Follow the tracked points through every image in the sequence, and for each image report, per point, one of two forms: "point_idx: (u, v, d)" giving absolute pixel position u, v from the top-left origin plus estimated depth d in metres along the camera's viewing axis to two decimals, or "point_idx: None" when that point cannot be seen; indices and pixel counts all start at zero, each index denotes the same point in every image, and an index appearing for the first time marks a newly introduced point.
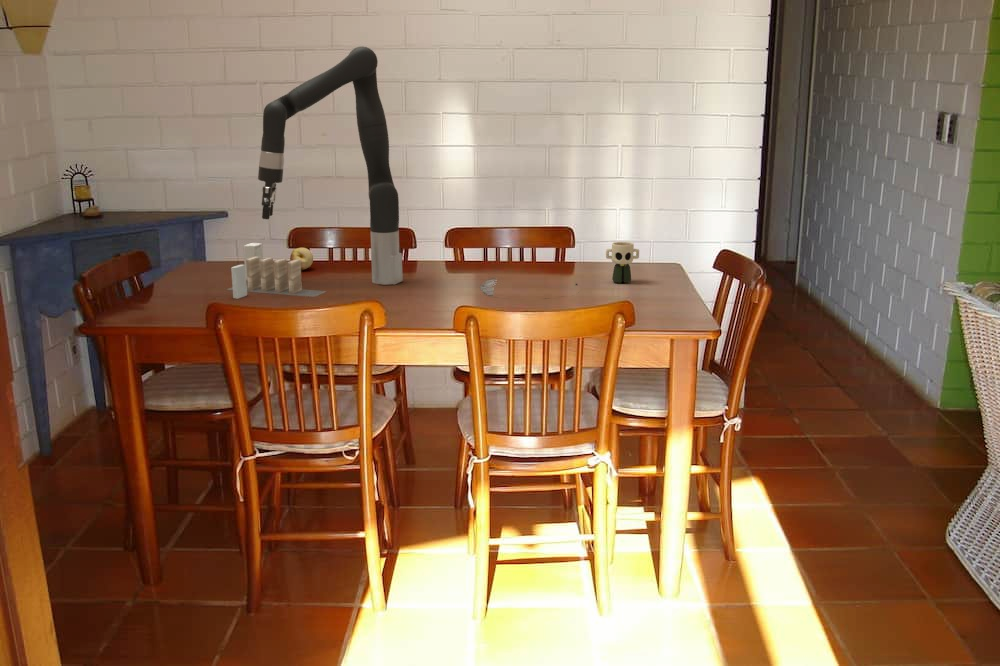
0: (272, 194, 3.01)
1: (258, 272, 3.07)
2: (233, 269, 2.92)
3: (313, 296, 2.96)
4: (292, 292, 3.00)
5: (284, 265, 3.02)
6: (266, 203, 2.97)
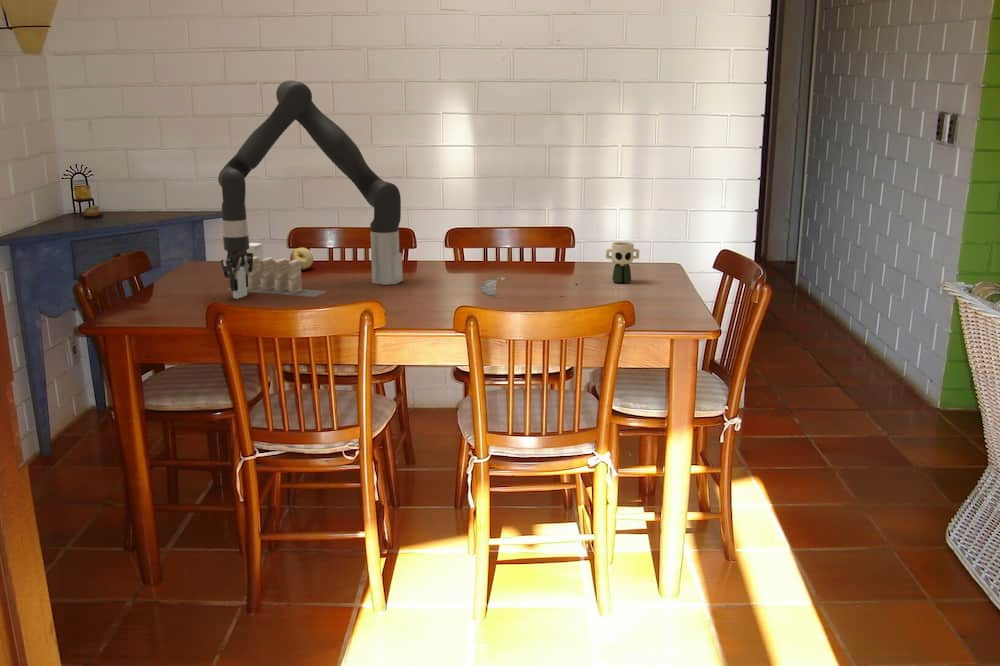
0: (237, 264, 2.91)
1: (258, 272, 3.07)
2: None
3: (313, 296, 2.96)
4: (292, 292, 3.00)
5: (284, 265, 3.02)
6: (228, 275, 2.89)
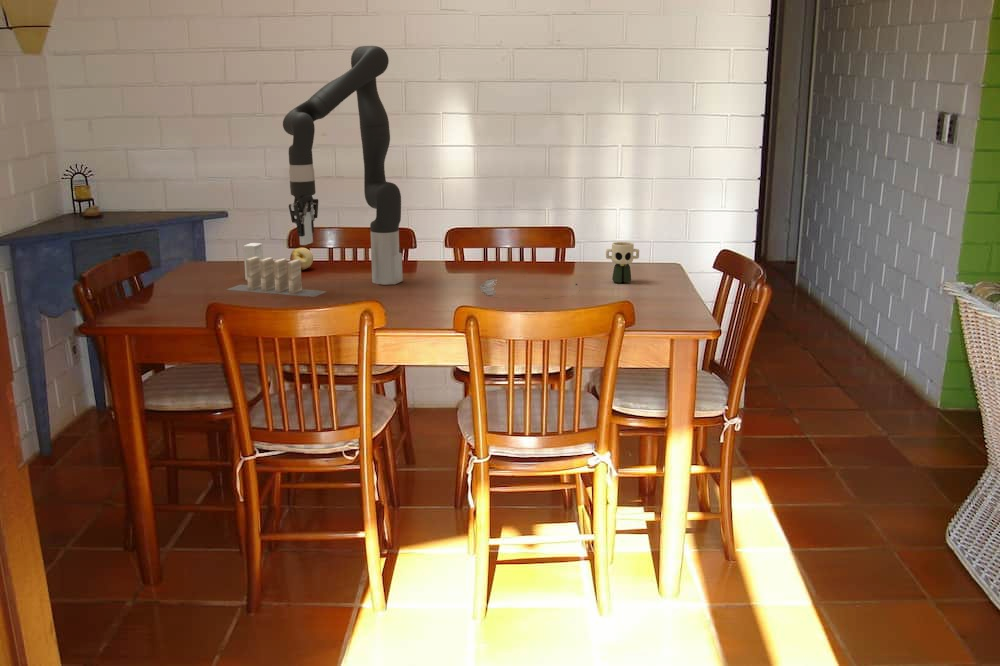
0: (303, 209, 2.91)
1: (258, 272, 3.07)
2: None
3: (313, 296, 2.96)
4: (292, 292, 3.00)
5: (284, 265, 3.02)
6: (295, 220, 2.89)
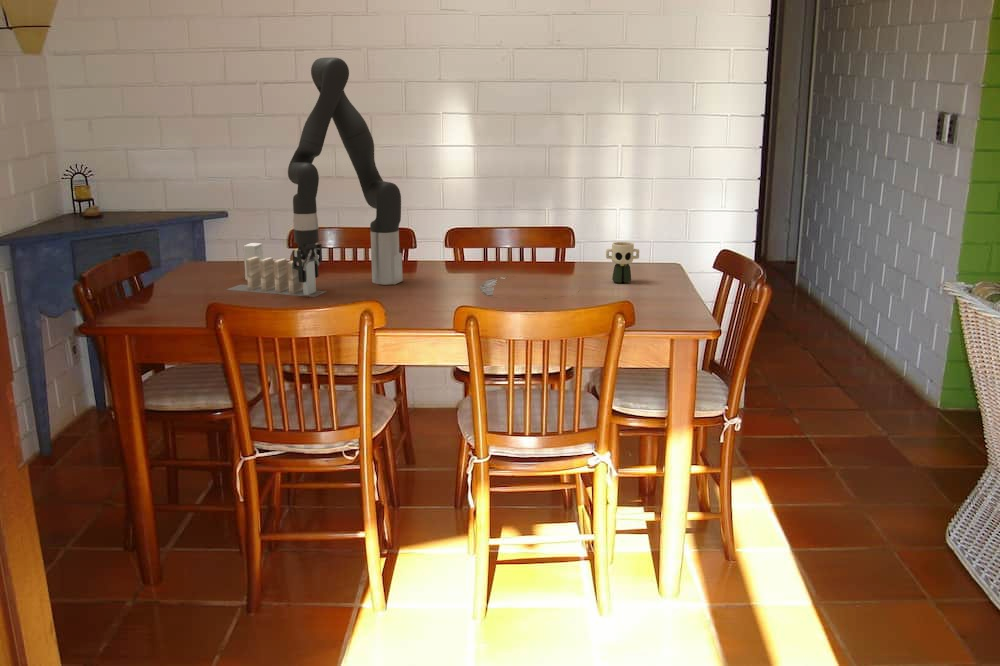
0: (306, 256, 2.94)
1: (258, 272, 3.07)
2: None
3: (313, 296, 2.96)
4: (292, 292, 3.00)
5: (284, 265, 3.02)
6: (297, 267, 2.92)
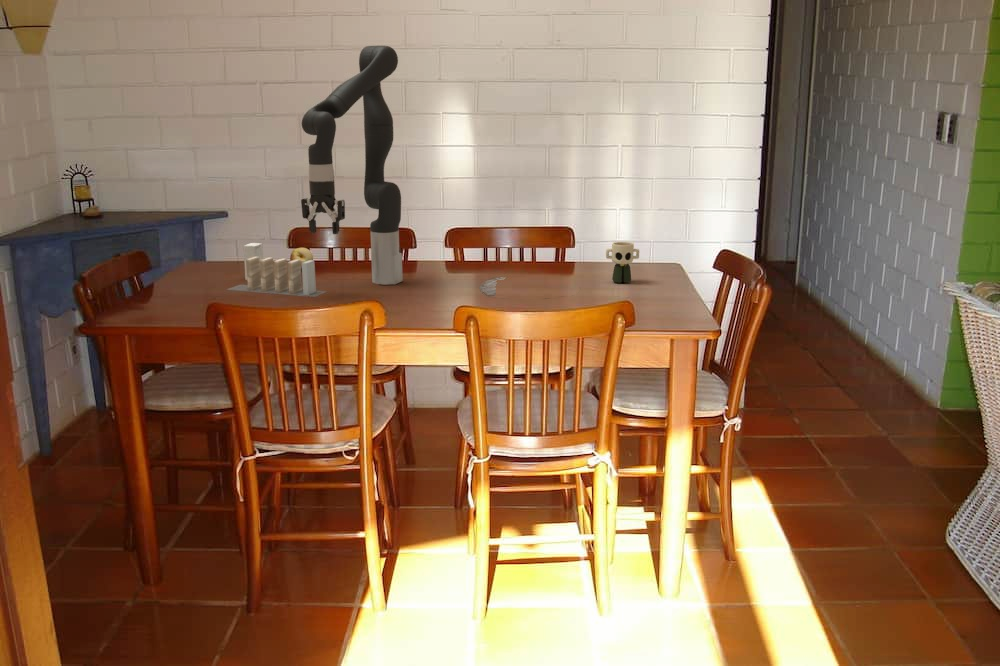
0: None
1: (258, 272, 3.07)
2: (304, 265, 2.96)
3: (313, 296, 2.96)
4: (292, 292, 3.00)
5: (284, 265, 3.02)
6: None
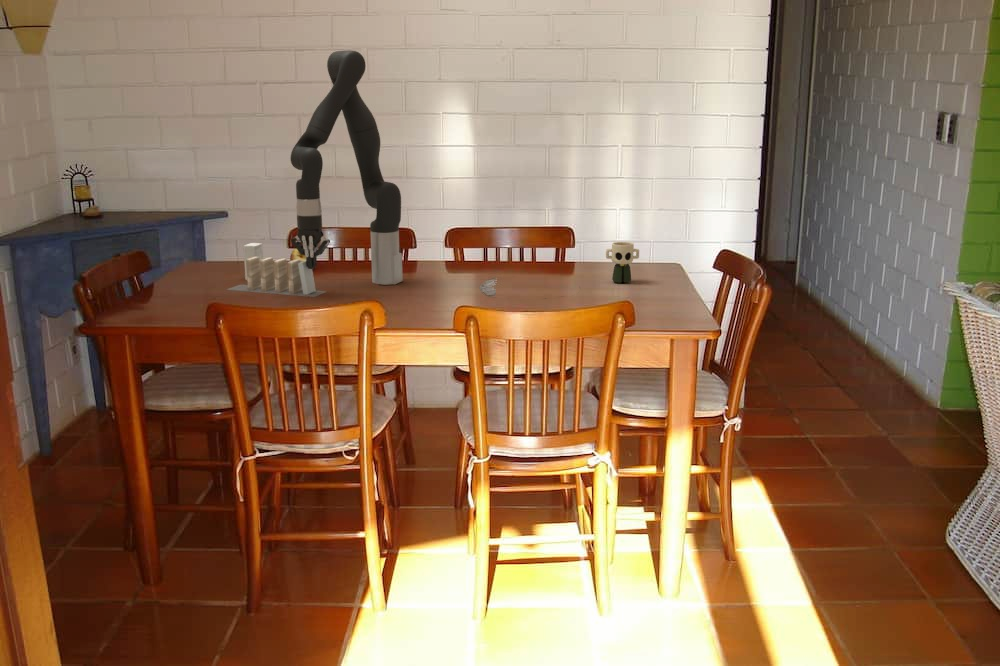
0: None
1: (258, 272, 3.07)
2: (300, 264, 2.96)
3: (313, 296, 2.96)
4: (292, 292, 3.00)
5: (284, 265, 3.02)
6: None
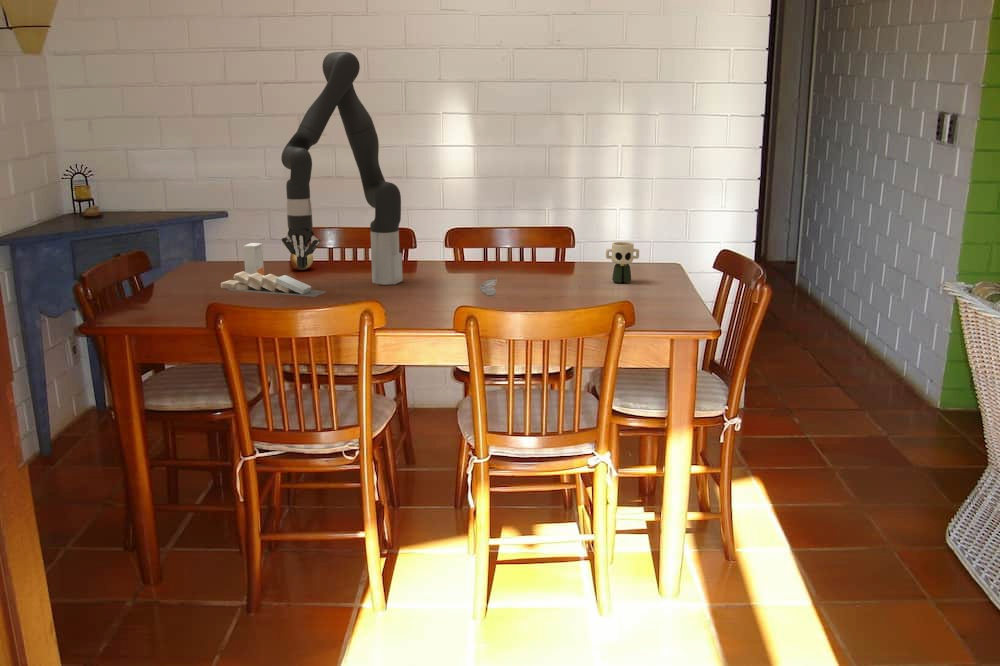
0: (294, 242, 2.96)
1: None
2: (277, 280, 3.00)
3: (313, 296, 2.96)
4: (287, 289, 3.00)
5: (260, 275, 3.06)
6: None
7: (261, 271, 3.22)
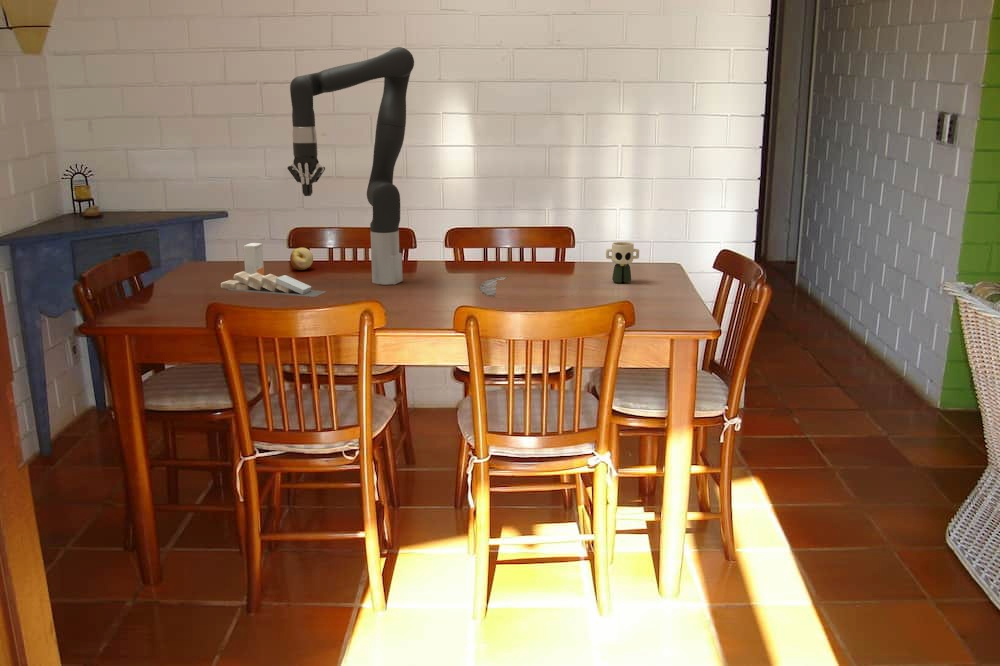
0: None
1: None
2: (277, 280, 3.00)
3: (313, 296, 2.96)
4: (287, 289, 3.00)
5: (260, 275, 3.06)
6: None
7: (261, 271, 3.22)
